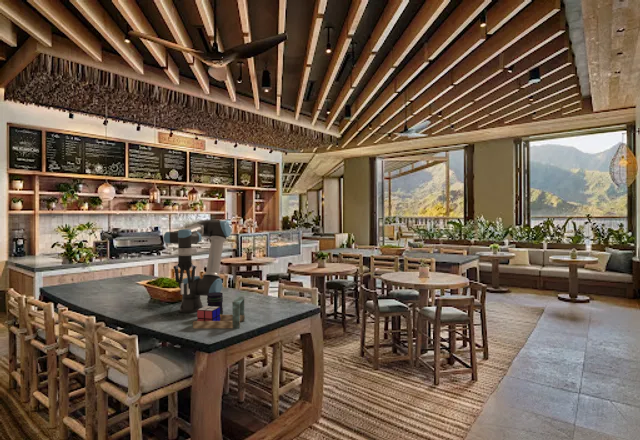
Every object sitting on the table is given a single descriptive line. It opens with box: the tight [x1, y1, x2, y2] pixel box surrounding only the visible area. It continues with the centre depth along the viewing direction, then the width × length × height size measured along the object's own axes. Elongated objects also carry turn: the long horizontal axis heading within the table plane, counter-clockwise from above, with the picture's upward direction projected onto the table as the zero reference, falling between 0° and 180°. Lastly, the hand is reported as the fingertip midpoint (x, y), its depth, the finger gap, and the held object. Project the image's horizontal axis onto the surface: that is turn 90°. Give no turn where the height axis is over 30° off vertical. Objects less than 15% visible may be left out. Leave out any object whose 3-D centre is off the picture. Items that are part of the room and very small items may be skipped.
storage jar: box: [206, 292, 224, 315], centre depth 246 cm, size 10×10×15 cm
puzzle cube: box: [196, 305, 220, 321], centre depth 229 cm, size 10×10×10 cm
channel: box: [192, 296, 245, 329], centre depth 229 cm, size 27×15×15 cm, turn 90°
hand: (185, 293), depth 229 cm, fingers open, 3 cm apart
